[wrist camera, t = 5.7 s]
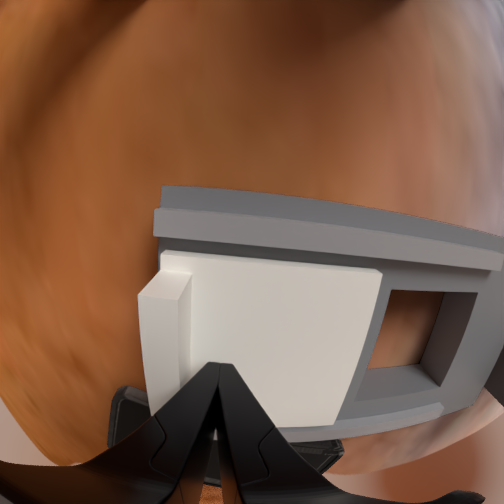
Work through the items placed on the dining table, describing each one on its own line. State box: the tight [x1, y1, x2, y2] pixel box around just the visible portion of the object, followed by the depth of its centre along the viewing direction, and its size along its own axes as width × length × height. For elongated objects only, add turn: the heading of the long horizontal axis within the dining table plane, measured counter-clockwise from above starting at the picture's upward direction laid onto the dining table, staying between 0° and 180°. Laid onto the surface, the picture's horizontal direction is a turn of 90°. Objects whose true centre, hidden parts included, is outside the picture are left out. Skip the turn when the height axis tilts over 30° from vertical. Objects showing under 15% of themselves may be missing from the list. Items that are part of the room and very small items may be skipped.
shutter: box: [138, 250, 383, 427], centre depth 8 cm, size 7×7×3 cm
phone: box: [107, 386, 345, 488], centre depth 14 cm, size 8×1×15 cm
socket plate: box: [153, 185, 504, 442], centre depth 11 cm, size 19×11×3 cm, turn 84°
